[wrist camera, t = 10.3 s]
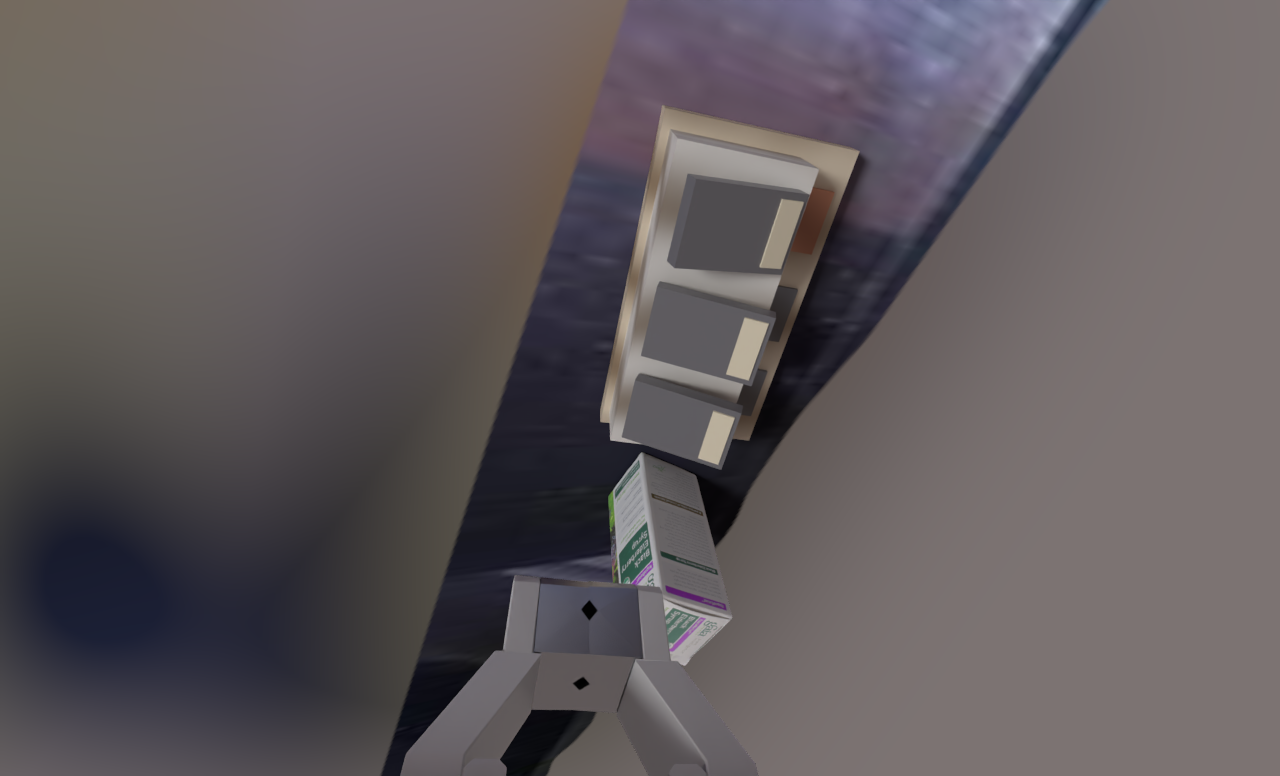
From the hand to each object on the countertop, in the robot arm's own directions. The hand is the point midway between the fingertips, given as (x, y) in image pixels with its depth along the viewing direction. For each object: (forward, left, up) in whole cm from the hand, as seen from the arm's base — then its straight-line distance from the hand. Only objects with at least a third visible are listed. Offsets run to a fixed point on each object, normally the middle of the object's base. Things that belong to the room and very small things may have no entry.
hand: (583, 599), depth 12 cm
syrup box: (+22, +9, -29) cm, 38 cm away
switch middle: (+4, +8, -22) cm, 24 cm away
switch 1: (-2, +8, -22) cm, 24 cm away
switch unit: (+4, +9, -29) cm, 31 cm away
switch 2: (+11, +8, -22) cm, 26 cm away
